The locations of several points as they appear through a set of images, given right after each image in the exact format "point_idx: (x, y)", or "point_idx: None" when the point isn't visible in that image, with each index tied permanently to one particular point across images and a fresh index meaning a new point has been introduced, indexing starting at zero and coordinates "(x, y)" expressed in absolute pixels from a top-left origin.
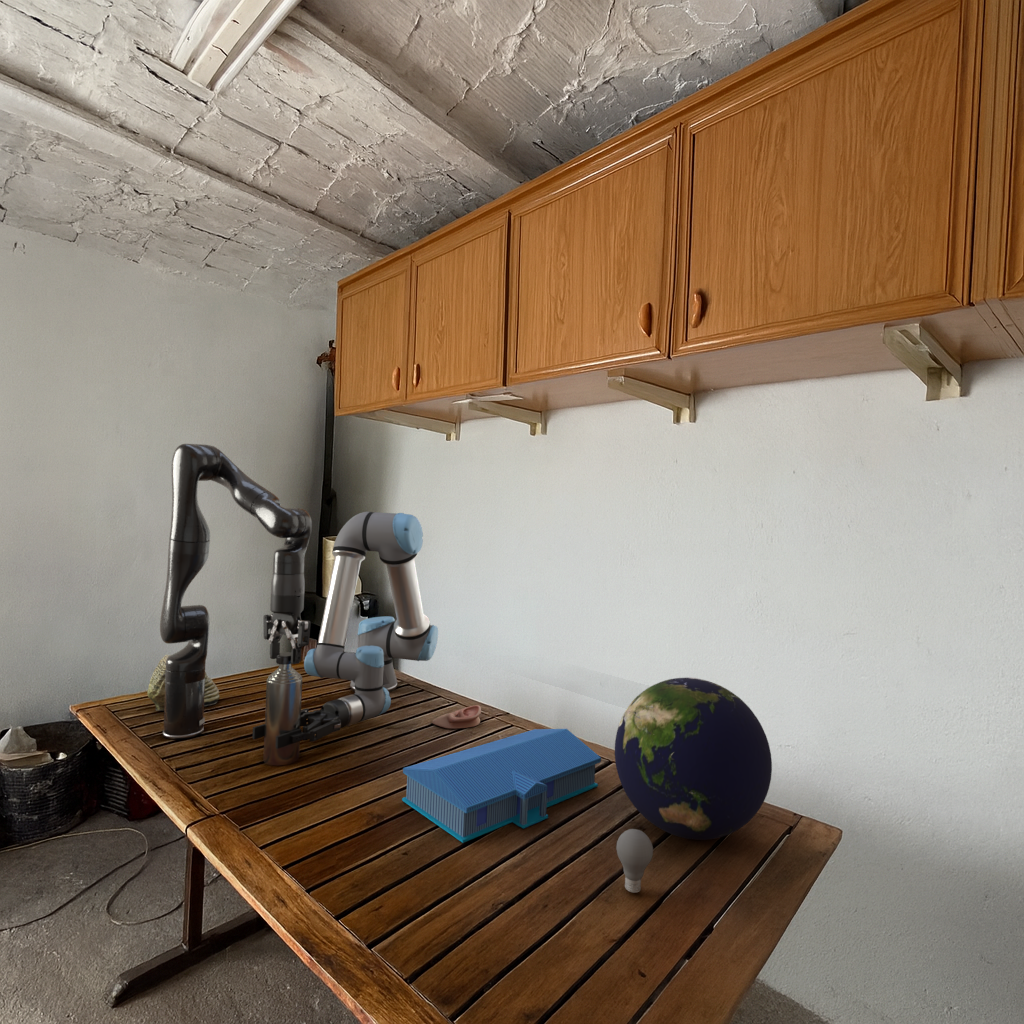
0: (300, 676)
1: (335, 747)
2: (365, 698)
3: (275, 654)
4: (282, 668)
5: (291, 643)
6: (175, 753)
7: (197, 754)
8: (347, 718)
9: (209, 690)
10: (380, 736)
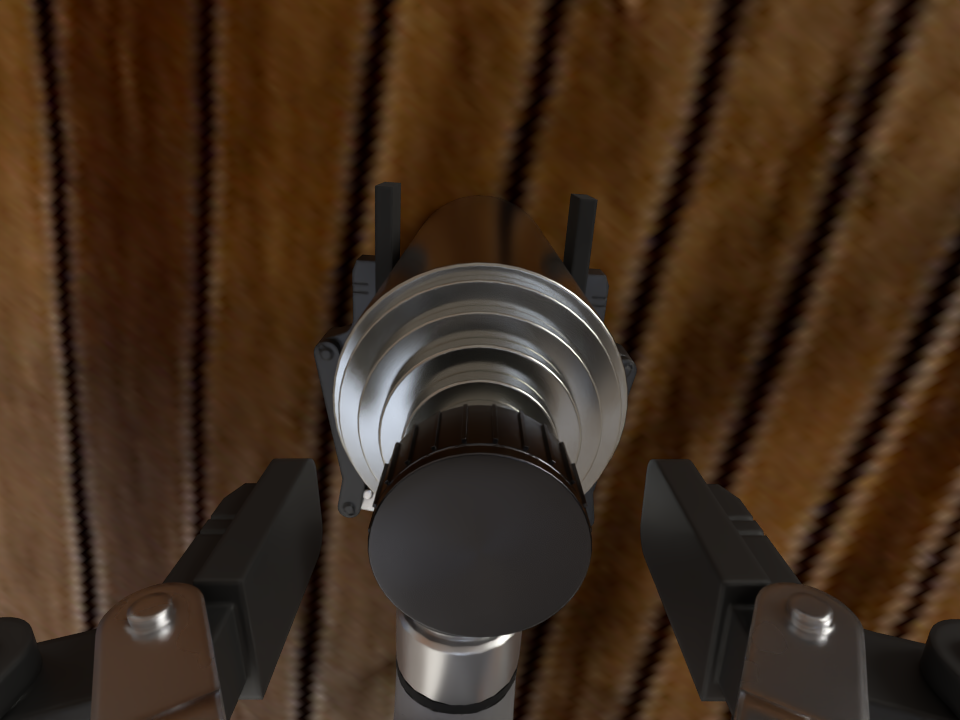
0: (373, 490)
1: None
2: (411, 713)
3: (657, 522)
4: None
5: (195, 649)
6: (921, 20)
7: (820, 78)
8: None
9: None
10: (355, 603)
